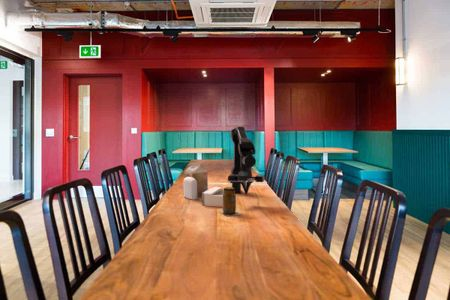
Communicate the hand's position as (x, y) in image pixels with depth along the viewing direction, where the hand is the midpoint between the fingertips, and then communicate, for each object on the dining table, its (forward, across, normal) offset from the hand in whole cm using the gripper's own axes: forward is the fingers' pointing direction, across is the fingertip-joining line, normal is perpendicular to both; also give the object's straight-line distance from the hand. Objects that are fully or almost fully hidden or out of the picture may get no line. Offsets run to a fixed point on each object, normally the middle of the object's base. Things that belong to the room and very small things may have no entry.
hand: (246, 194), depth 153 cm
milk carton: (+6, -36, +16) cm, 39 cm away
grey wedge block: (+5, -17, 0) cm, 17 cm away
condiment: (+6, -4, -19) cm, 20 cm away
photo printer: (+6, -35, +5) cm, 35 cm away
